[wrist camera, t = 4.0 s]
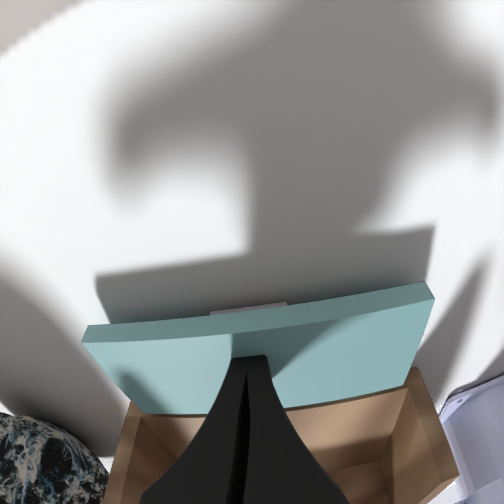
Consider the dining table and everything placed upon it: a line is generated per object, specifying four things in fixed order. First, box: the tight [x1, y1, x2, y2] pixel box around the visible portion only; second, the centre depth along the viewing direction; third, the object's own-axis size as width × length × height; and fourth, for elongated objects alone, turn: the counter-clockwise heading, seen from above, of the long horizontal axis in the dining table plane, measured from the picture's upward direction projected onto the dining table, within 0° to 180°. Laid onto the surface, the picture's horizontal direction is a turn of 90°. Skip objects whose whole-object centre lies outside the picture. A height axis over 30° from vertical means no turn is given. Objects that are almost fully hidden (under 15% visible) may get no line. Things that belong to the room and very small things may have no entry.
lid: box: [81, 281, 435, 414], centre depth 13 cm, size 14×2×6 cm
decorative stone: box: [0, 412, 110, 504], centre depth 14 cm, size 16×16×15 cm
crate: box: [102, 368, 460, 504], centre depth 15 cm, size 17×12×7 cm
